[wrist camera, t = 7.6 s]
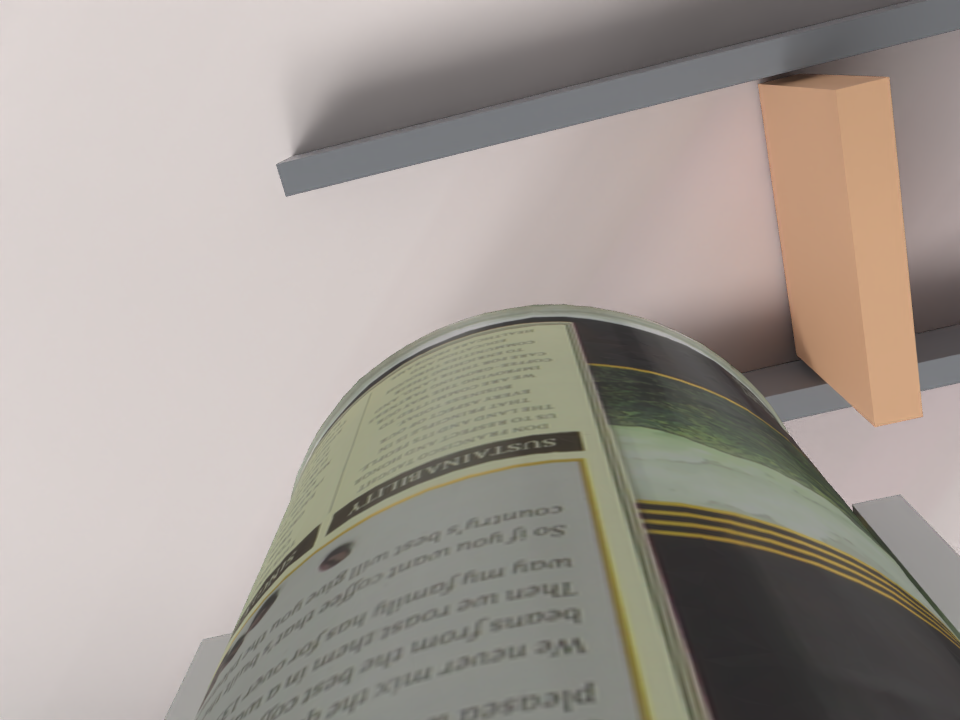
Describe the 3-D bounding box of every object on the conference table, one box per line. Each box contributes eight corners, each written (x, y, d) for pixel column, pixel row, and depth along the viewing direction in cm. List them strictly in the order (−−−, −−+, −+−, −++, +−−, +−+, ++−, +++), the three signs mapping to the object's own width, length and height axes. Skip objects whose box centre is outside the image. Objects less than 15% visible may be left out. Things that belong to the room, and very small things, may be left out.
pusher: (796, 354, 38) (875, 427, 31) (757, 84, 35) (835, 90, 27) (834, 346, 38) (923, 416, 31) (799, 73, 35) (889, 77, 27)
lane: (389, 478, 40) (374, 547, 35) (292, 156, 36) (257, 173, 30) (1207, 295, 38) (1336, 337, 32) (1209, -75, 34) (1358, -103, 28)
